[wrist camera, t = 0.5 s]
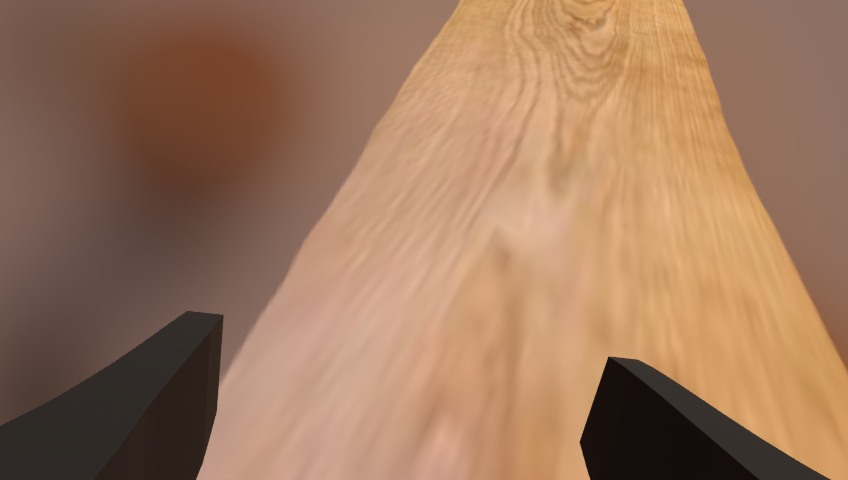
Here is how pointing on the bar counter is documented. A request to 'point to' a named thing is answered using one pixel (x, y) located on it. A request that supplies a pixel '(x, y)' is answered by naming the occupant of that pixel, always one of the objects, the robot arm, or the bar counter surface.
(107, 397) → the robot arm
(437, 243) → the bar counter surface
